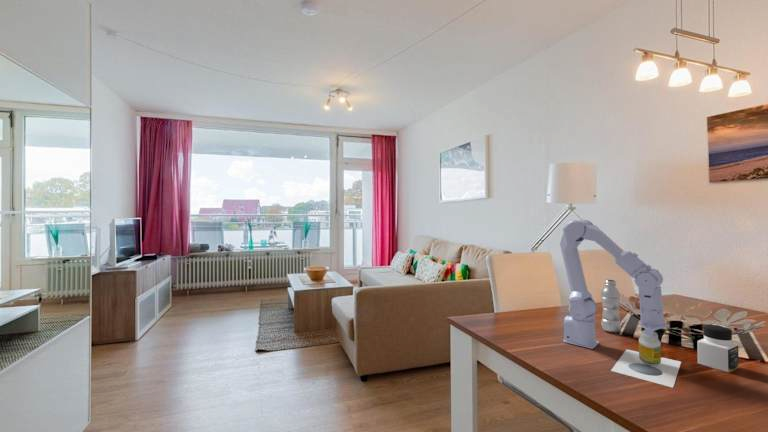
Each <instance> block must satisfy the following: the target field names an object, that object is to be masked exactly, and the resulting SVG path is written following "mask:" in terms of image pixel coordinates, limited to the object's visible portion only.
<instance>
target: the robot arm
mask: <svg viewBox="0 0 768 432" xmlns="http://www.w3.org/2000/svg"><path fill="white" fill-rule="evenodd" d="M584 240H585V241H591V242H594V243H596V244H597V245H599V246H600V247H601V248H602V249H604V250H605V251H606V252H608V254H610V255H611V256H612V257H614V261H615V264H617V266H618V267H620V269H622V270H623V271H624V272H625V273H627V274H628V275H629V276H630V277H631V278H633V279H634V283H635V286H637V288H638V299H639V300H638V301H639V312H640V315H639V316H640V321H639V323H640V326H641V329H640V331H641V332H642V331H643V330H645V334H646V335H652V336H654V332H656V333H657V334H658V340H659V341H660V342H661V343H662V339H663V336H664V334H665V332H666V328H668V329H669V328H670V324H669V323H665V317H664V316H665V315H664V305H663V294H662V286H661V285H662V284H663V280H664V278H663V275H662V274H661V272H660V271H659V270H658V269H655V268H652V266H651V265H650V264H646V263H645V262H644V261H643V260H641V259H640V258H639V254H637V253H636V252H631V251H630V250H627V251H626V250H623V249H622V248H621V247H620V246H619V245H618V244H617V243H616V242H614V241H613V240H612V239H611V237H609V236H608V235H607V233H605V232H604V231H602V230H601V229H600V228H599V227H598V225H596V224H593V222H592V221H591V220H589V219H582V220H576V219H575V220H570V221H569V222H567V224H566V225H564V227H563V228H562V235H561V239H560V242H559V246H560V250H561V254H562V259H563V264H564V267H565V272H566V276H567V279H568V283H569V284H568V286H569V288H570V289H569V290H570V294H569V298H568V300H569V305H568V312H569V314H570V315H566V316H565V317H564V321H563V342H564V343H568V344H571V345H575V346H580V347H583V348H587V349H592V350H593V349H595V348H596V346H598V345H599V344H600V342H599V341H598V340H596V318H595V314H596V313H597V311H598V304H597V302H596V301H595V300H594V298H593V295H592V293H591V292H590V291H589V290H588V287H587V282H586V278H585V275H584V270H583V266H582V261H581V258H580V253H579V249H578V247H579V245H580V244H581V243H582V242H584ZM664 328H665V329H664Z"/></svg>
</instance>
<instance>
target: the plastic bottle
mask: <svg viewBox="0 0 768 432" xmlns="http://www.w3.org/2000/svg"><path fill="white" fill-rule="evenodd" d="M600 295H601V301H602V302H601V303H602V318H601V322H600V323H601V328H602V330H604V331H606V332H610V333H619V332H620V331H621V328H622V324H621V320H620V311H619V310H620V300H621V292H620V291H619V290H618V288H617V281H616V279H604V287H603V289H602V290H601V292H600Z"/></svg>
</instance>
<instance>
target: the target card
mask: <svg viewBox="0 0 768 432" xmlns="http://www.w3.org/2000/svg"><path fill="white" fill-rule="evenodd" d="M681 364H682V361H680V360H676V359H675V360H674V359H671V358H667V357H662V356H661V363H660V364H659V365H657V366H650V365H647V364H644V363H643V362H642V361H641V360H640V359H639V351H635V350H632V349H625V351H623V354H622V355H621V356H620V358H619V359H618V361H616V362H615V364H614V366H613V367H612V368H611V370H610V371H611V372H614V373H617V374H621V375H624V376H629V377H631V378H635V379H639V380H643V381H647V382H650V383H654V384H658V385H660V386H665V387H669V388H674V385H675V383H676V379H677V376H678V374H679V370H680V367H681Z"/></svg>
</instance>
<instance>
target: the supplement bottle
mask: <svg viewBox="0 0 768 432" xmlns="http://www.w3.org/2000/svg"><path fill="white" fill-rule="evenodd" d="M638 352H639V359H640V360H641V361H642V362H643V363H644V364H647V365H650V366H657V365H659V364H660V363H661V357H662V341H661V342H660V341H659V340H658V334H657V333H656V332H654V336H652V335H646V334H645V330H643V331H641V332H640V337H638Z"/></svg>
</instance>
